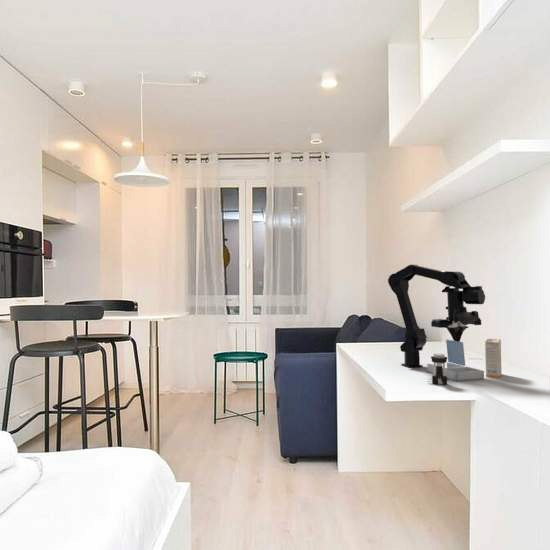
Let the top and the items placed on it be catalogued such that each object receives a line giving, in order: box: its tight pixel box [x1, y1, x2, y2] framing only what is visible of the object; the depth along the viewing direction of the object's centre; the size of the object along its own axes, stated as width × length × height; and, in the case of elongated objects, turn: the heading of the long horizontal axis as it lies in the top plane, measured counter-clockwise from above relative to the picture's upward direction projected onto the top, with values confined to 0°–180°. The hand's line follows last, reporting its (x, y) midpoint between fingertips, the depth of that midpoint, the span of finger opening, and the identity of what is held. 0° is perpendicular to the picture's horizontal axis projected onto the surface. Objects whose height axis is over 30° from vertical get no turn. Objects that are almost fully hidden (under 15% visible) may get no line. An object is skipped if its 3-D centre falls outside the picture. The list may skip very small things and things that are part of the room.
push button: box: [426, 353, 448, 385], centre depth 156 cm, size 7×5×10 cm
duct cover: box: [445, 339, 466, 367], centre depth 175 cm, size 9×9×1 cm
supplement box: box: [484, 338, 502, 379], centre depth 169 cm, size 8×5×13 cm, turn 149°
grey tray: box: [426, 362, 485, 382], centre depth 170 cm, size 19×12×3 cm, turn 15°
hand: (457, 344), depth 175 cm, fingers closed
